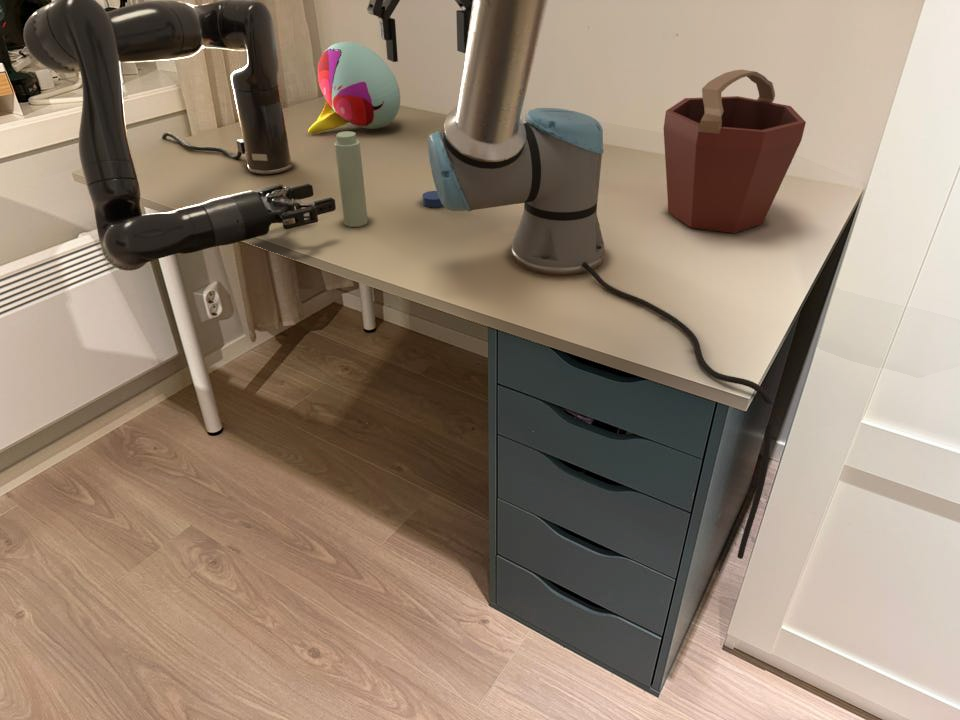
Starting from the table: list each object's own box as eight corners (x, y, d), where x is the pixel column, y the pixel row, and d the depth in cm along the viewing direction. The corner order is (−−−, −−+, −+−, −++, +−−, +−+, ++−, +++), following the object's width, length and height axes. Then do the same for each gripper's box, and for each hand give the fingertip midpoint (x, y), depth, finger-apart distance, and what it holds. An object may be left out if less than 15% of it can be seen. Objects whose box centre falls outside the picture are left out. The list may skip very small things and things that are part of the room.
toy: (277, 110, 181) (275, 51, 163) (352, 72, 191) (358, 13, 173) (336, 175, 178) (341, 122, 160) (410, 134, 188) (421, 79, 170)
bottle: (346, 217, 132) (335, 130, 123) (369, 217, 132) (360, 130, 123) (342, 227, 128) (331, 137, 119) (366, 226, 128) (356, 137, 119)
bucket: (710, 250, 119) (740, 96, 105) (622, 208, 134) (638, 69, 120) (804, 218, 129) (843, 75, 115) (713, 183, 145) (736, 53, 131)
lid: (437, 209, 135) (436, 201, 134) (417, 204, 137) (417, 196, 136) (451, 201, 138) (451, 193, 137) (432, 197, 140) (431, 189, 139)
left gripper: (246, 210, 109) (339, 186, 117) (212, 184, 118) (301, 164, 126) (255, 254, 113) (345, 229, 121) (222, 226, 122) (307, 204, 130)
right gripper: (478, -92, 118) (479, 45, 130) (337, -88, 108) (352, 60, 120) (502, -91, 113) (501, 51, 125) (356, -87, 102) (370, 68, 114)
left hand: (322, 196), depth 123 cm, fingers open, 8 cm apart
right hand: (428, 56), depth 122 cm, fingers open, 13 cm apart
